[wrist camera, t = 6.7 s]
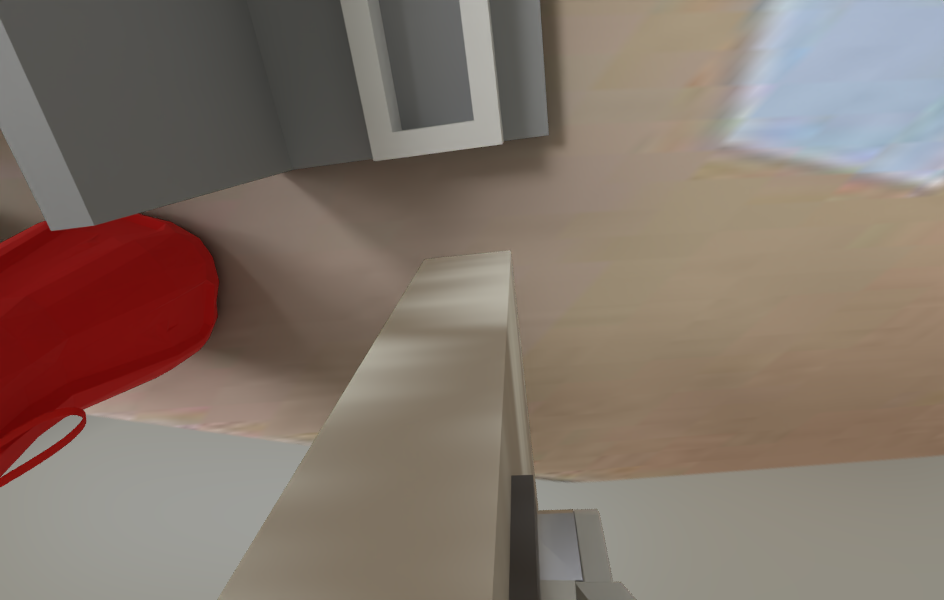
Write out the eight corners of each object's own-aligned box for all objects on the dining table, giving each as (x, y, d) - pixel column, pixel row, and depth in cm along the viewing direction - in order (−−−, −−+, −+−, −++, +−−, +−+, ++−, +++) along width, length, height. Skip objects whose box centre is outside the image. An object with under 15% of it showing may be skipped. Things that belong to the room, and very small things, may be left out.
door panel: (472, 522, 16) (399, 1180, 6) (424, 258, 13) (59, 856, 3) (548, 520, 16) (597, 1216, 6) (522, 249, 12) (537, 901, 2)
